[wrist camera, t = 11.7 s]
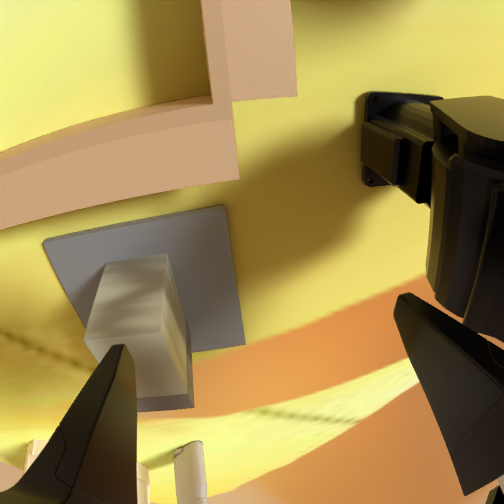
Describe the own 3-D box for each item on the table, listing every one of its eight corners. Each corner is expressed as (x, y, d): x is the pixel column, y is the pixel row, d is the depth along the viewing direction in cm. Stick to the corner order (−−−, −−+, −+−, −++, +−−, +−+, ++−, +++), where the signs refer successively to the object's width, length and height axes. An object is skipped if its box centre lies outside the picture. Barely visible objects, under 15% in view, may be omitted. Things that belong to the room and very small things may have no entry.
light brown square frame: (249, -153, 6) (261, -182, 3) (281, 149, 19) (300, 171, 16) (-61, -43, 4) (-92, -46, 1) (-25, 216, 17) (-52, 245, 14)
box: (167, 252, 21) (160, 332, 15) (190, 333, 25) (194, 407, 20) (106, 262, 21) (83, 340, 15) (140, 339, 25) (134, 412, 19)
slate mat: (224, 204, 20) (225, 209, 20) (244, 339, 28) (245, 344, 27) (45, 238, 19) (42, 243, 19) (107, 356, 27) (106, 361, 26)
